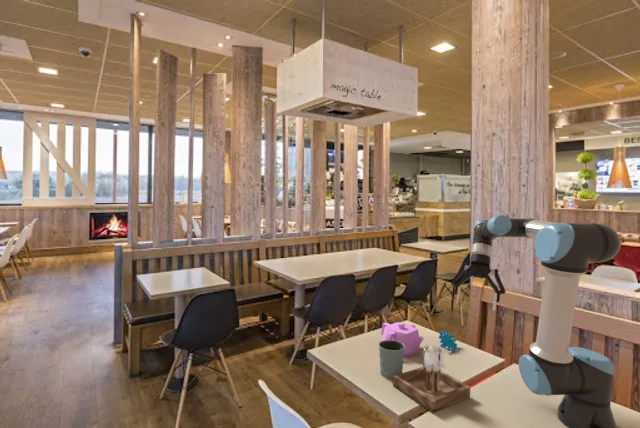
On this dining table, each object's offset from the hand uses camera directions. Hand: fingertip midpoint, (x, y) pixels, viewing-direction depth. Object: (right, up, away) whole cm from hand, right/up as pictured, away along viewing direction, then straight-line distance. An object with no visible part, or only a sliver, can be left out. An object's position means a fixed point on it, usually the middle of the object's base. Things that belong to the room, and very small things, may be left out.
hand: (475, 306), depth 147 cm
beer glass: (-21, -27, -12) cm, 37 cm away
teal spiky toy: (-2, -26, +26) cm, 37 cm away
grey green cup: (-33, -27, +1) cm, 43 cm away
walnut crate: (-21, -28, -12) cm, 37 cm away
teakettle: (-24, -26, +24) cm, 43 cm away
